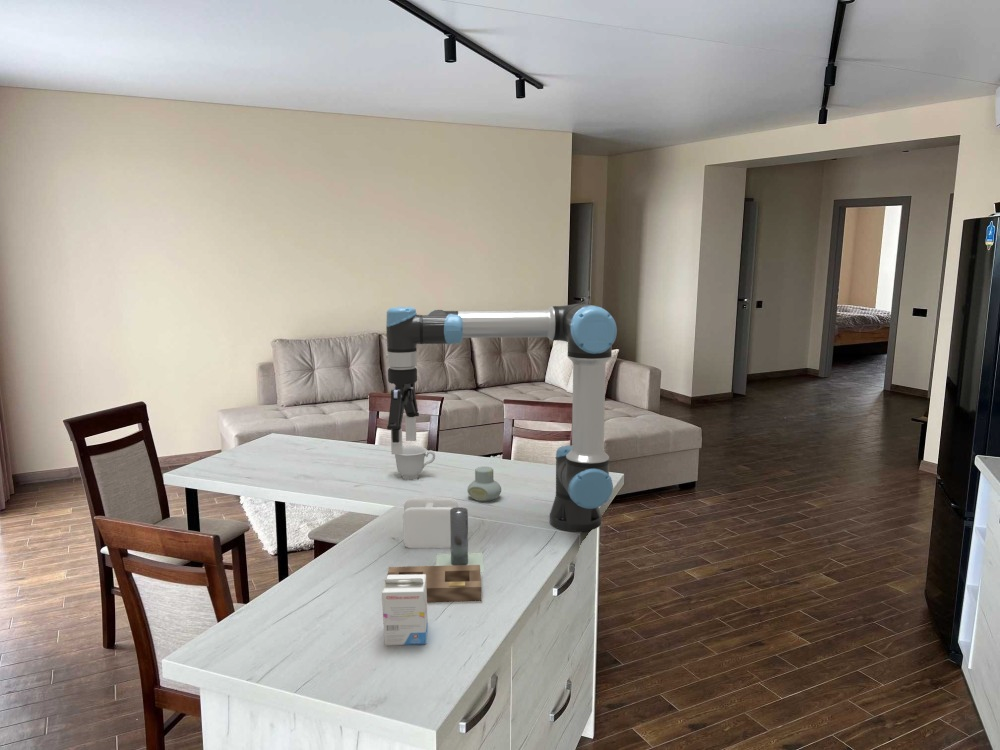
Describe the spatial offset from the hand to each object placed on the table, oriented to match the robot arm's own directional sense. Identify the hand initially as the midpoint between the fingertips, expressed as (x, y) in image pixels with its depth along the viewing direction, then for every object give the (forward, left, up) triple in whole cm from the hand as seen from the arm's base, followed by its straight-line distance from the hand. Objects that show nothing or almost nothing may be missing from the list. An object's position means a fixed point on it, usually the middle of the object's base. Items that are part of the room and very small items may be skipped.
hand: (404, 447), depth 193 cm
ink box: (-3, +46, -28) cm, 54 cm away
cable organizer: (-6, -3, -28) cm, 29 cm away
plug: (-14, +12, -28) cm, 33 cm away
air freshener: (-22, -39, -28) cm, 54 cm away
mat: (-14, +12, -28) cm, 34 cm away
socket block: (-8, +26, -28) cm, 39 cm away
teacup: (+2, -63, -28) cm, 70 cm away
